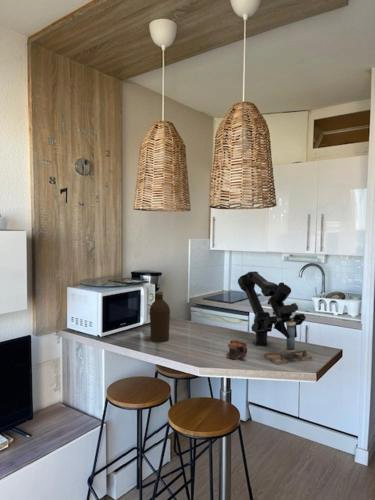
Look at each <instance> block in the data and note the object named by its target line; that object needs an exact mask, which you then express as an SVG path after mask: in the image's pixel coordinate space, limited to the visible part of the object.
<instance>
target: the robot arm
mask: <svg viewBox="0 0 375 500" xmlns="http://www.w3.org/2000/svg"><path fill="white" fill-rule="evenodd" d="M237 284H238V285H239V288H240V290H242V291H243V292H244V293H246V296H247V299H248V302H249V304H250V307H251V309H252V311H253V314H254V318H253V323H252V325H251V331H252V332H253V333H255V340H254V343H253V345H255V346H256V345H257V346H266V347H267V346H268V345H269V344H270V343H269V340H268V332H270V333H271V332H272V330H273V329H274V330H275V331H276V330H277V331H278V332H279V333H281V334H282V335H283V337H285V338H286V339H287V338H288V339H289V338H290V337H289V334H288V332H287V326H285V325H286V321H294V322H296V325H295V339H296V338H297V337H298V332H297V331H298V330H297V326H300V325H302V324H303V323H304V321H306V319H307V318H306V315H305V314H304V313H296V312H297V311H298V310H299V305H298V304H297V303H296V302H293V303H291V304H286V305H285V303H284V302H285V301H286V300H287V299H288V297H289V296H290V294H291V293H292V288H291V287H290V286H289V285H287V284H285V283H284V282H279V283H278V284H277V283H275V282H272V281H269V280H267V279H265V278H264V277H263V276H262V275H260V274H259V272H258V271H249V272H247V273H245V274H243V275H241V276H239V278H238V279H237ZM256 286H258V288H260V289H261V290H260V292H261V294H263V296H264V298H265V297H266V298H267V297H269V298H268V301H267V305H270V306H271V309H272V311H273V312H272V315H270V312H269V311H264V308H263V306H262V303H261V301H260V299H259V296H258V294H257V291H256V290H255V287H256ZM293 313H295V315H293ZM292 316H293V317H292ZM273 325H274V326H273Z"/></svg>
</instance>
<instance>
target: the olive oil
mask: <svg viewBox="0 0 375 500" xmlns="http://www.w3.org/2000/svg"><path fill="white" fill-rule="evenodd" d="M155 295H156V299H155V300H154V301H153V302H152V303H151V305H150V307H149V313H148V314H149V324H150V325H149V326H150V340H151V342H154V343H165V342H168V341H169V340H170V320H171V308H170V305H169V304H168V303H167V302H166V301H165V300H164V294H163V291H156V294H155Z"/></svg>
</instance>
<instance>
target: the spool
mask: <svg viewBox="0 0 375 500" xmlns="http://www.w3.org/2000/svg"><path fill="white" fill-rule="evenodd" d="M285 325H286V330H287V332H288V334H289V337H290V338H289V339H288V338H287V337H286V346H285V347H286V348H285V351H286V352H292V351H295V350H296V348H295V347H296V346H295V345H296V344H295V342H296V341H295V340H296V338H295V325H296V322H294V321H286V323H285ZM296 326H297V325H296Z"/></svg>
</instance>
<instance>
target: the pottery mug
mask: <svg viewBox="0 0 375 500" xmlns="http://www.w3.org/2000/svg"><path fill="white" fill-rule="evenodd" d="M229 342H230V343H229V344H228V345H227V347H228V350H229V351H228V352H227V353H226V358H227V359H232V360H236V361H239V358H241V359H243V358H244V357H245V356H246V355H247V353H248V347H247V343H245V342H243V341H239V340H230V341H229Z"/></svg>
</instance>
